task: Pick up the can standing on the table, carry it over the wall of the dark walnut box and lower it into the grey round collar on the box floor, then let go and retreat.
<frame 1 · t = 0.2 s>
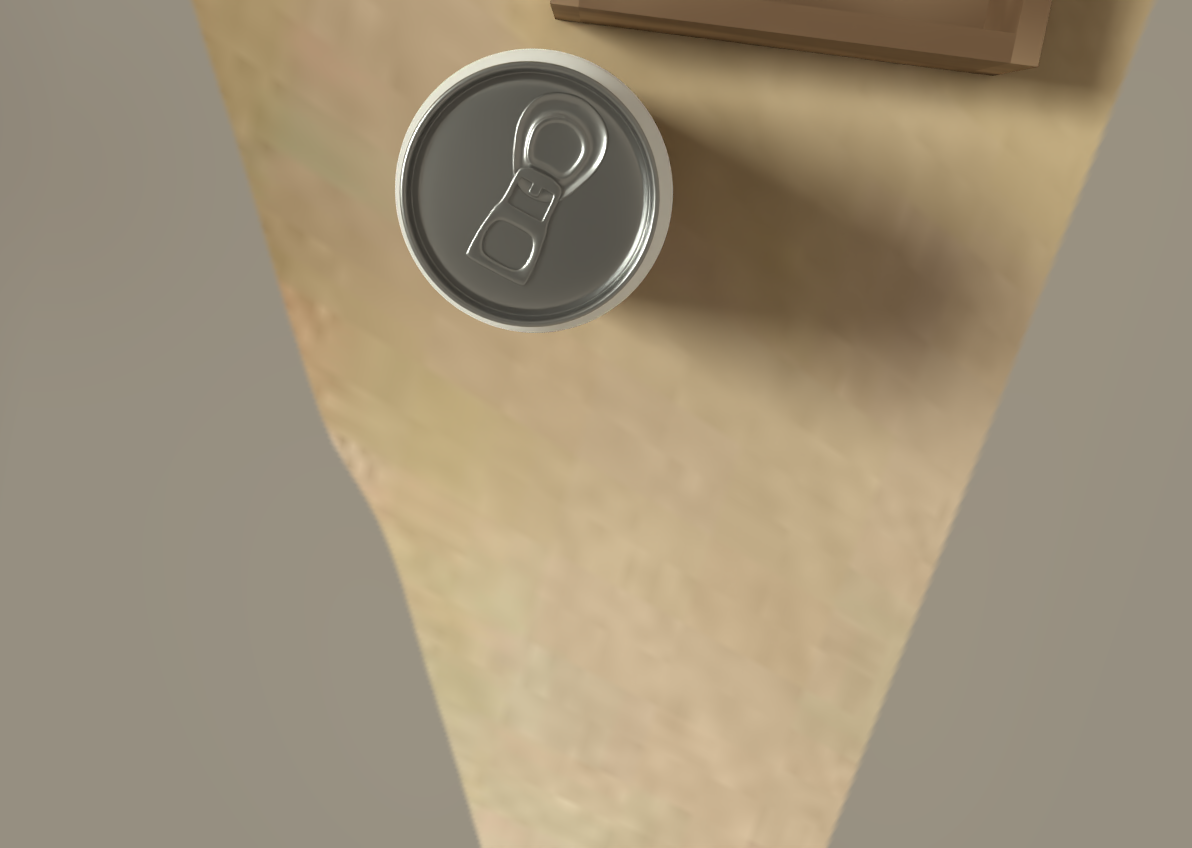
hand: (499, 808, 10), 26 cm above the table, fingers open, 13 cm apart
can: (553, 182, 34), on the table
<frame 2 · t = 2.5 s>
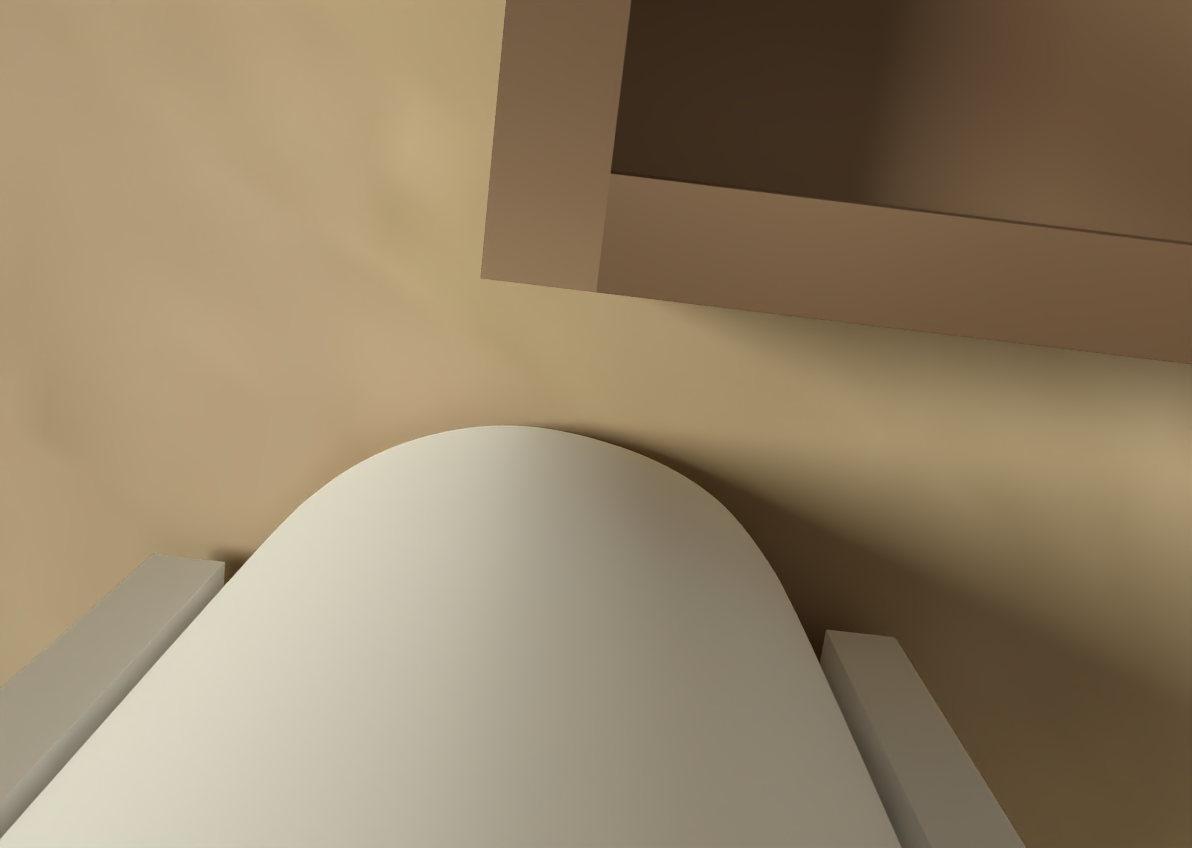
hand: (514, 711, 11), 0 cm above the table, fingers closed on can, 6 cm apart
can: (519, 680, 12), on the table, touching gripper
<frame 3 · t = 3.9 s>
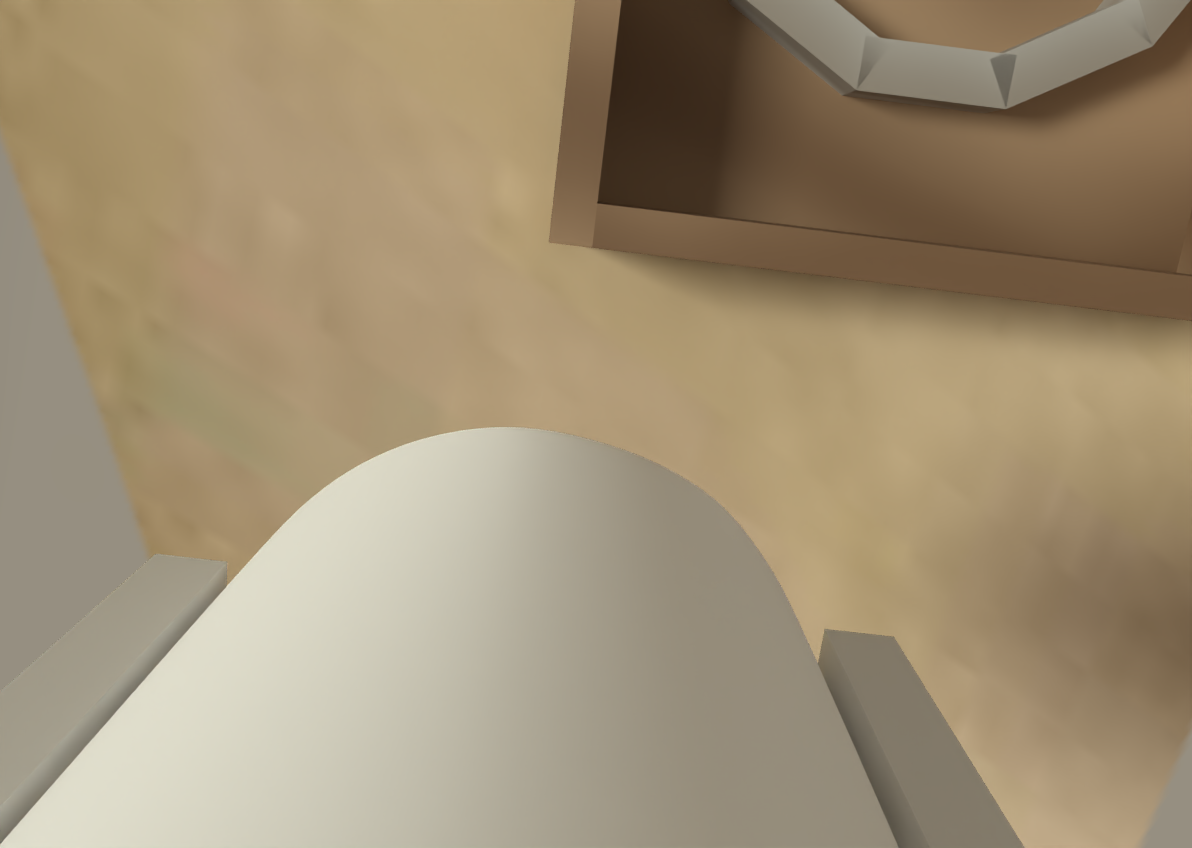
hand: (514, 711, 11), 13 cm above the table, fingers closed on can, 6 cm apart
can: (519, 681, 12), point 12 cm above the table, touching gripper
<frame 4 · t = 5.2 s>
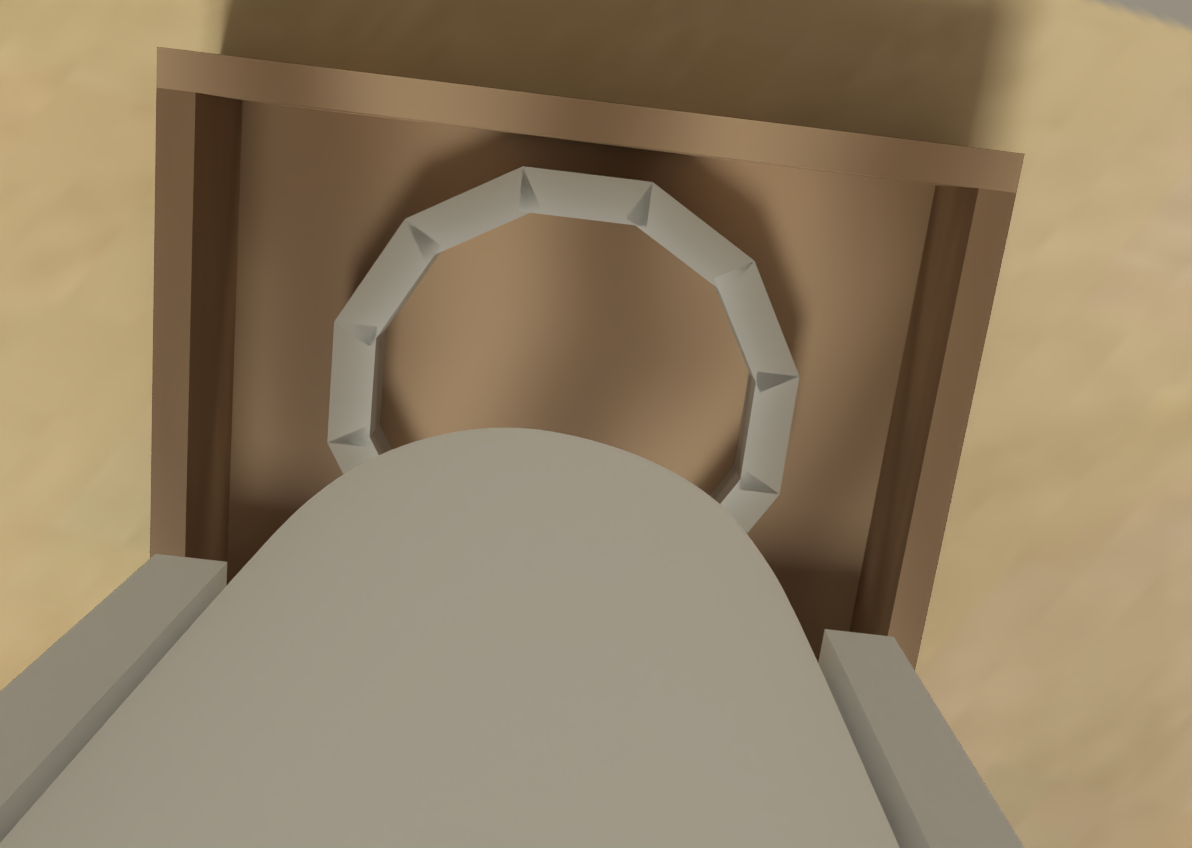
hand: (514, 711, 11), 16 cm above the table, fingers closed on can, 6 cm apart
walled box: (563, 393, 27), on the table
can: (519, 682, 12), point 15 cm above the table, touching gripper
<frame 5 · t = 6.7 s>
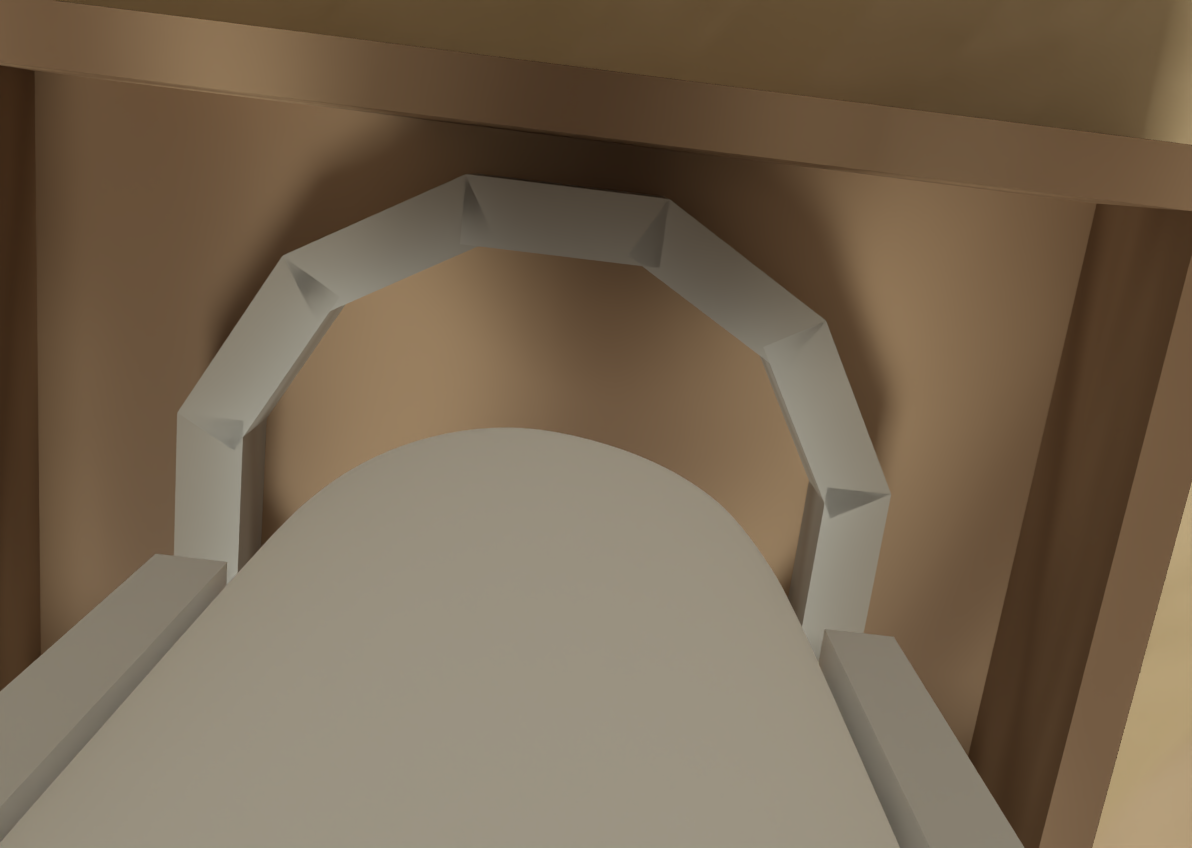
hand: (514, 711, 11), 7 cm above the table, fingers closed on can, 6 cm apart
walled box: (534, 506, 18), on the table
can: (519, 682, 12), point 6 cm above the table, touching gripper
when the fingers open (3 cm above the table, at t = 7.8 s): can drops 2 cm, resting on walled box.
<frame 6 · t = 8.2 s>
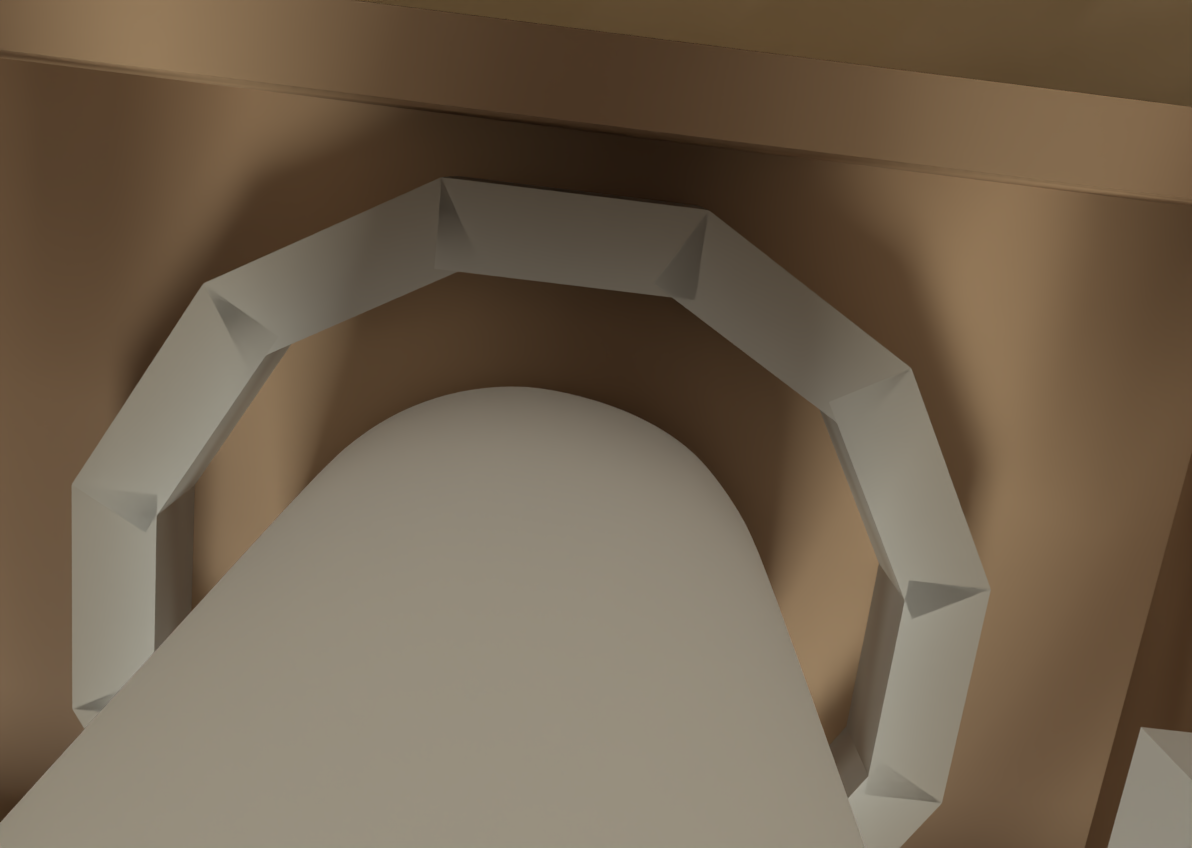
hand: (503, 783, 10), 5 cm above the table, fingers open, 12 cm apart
walled box: (533, 591, 14), on the table
can: (523, 606, 14), resting on walled box
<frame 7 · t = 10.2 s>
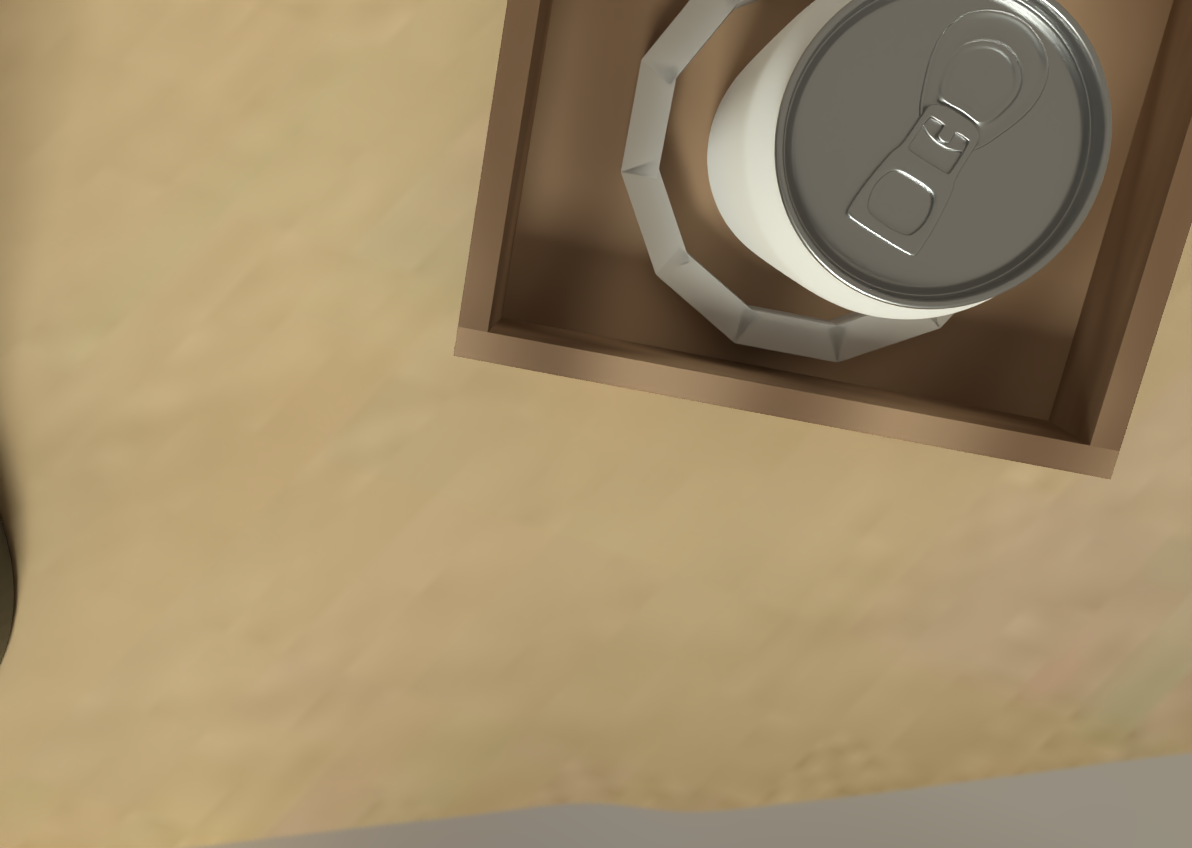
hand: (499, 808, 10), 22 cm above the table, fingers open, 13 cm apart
walled box: (820, 155, 30), on the table
can: (819, 156, 29), resting on walled box
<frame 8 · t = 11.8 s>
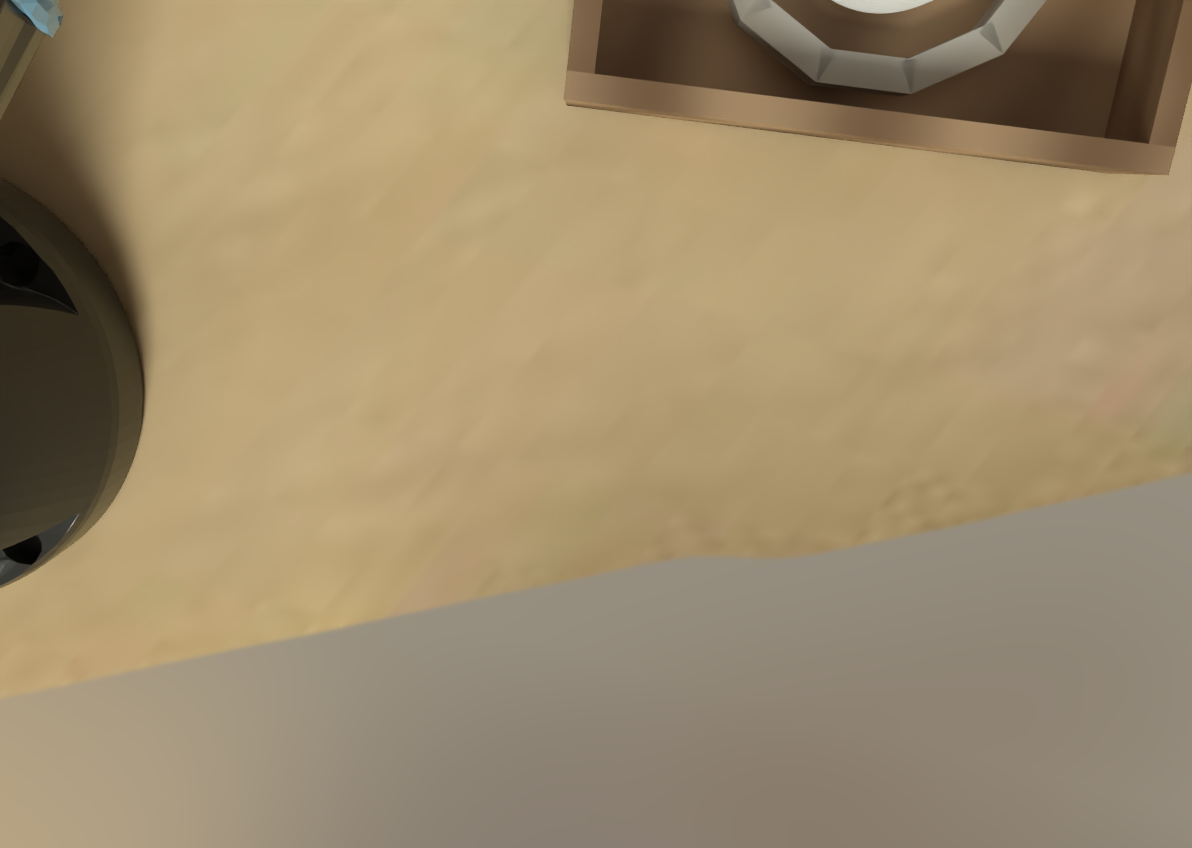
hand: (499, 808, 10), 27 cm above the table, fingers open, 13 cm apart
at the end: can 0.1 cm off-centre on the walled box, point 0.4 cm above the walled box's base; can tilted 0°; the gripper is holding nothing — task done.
